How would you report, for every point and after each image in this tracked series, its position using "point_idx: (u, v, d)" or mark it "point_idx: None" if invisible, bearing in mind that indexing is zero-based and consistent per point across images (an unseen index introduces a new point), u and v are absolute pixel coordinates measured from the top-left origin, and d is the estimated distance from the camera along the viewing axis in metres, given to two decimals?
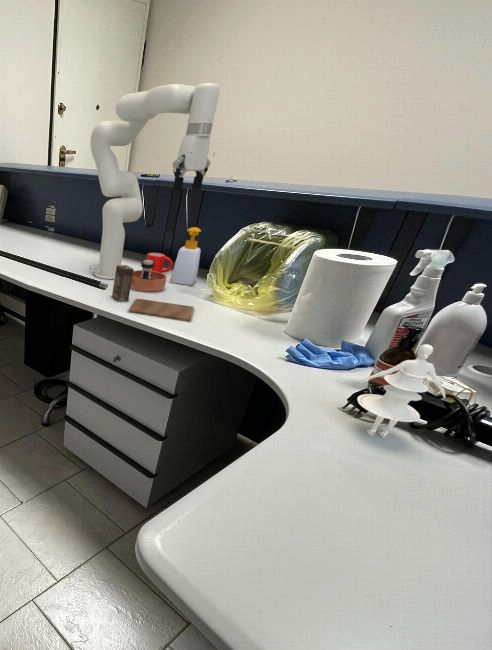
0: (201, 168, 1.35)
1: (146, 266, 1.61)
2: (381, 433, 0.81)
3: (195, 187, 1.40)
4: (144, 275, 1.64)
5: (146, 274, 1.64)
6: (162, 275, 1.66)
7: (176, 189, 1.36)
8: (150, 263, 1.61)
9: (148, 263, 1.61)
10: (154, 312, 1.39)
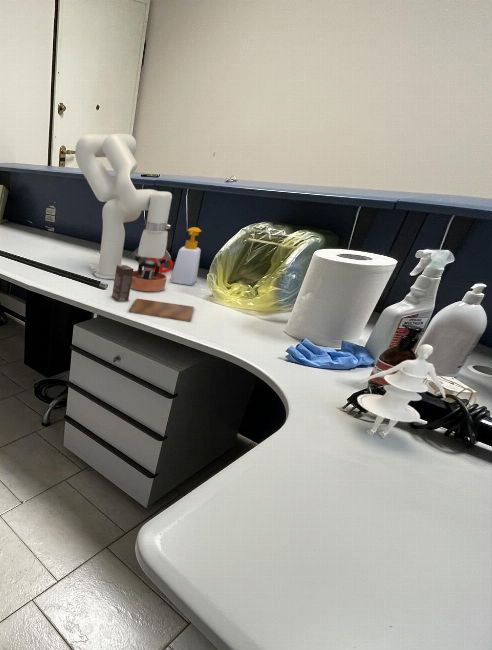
0: (157, 257, 1.58)
1: (148, 265, 1.61)
2: (381, 433, 0.81)
3: None
4: (145, 274, 1.64)
5: (147, 273, 1.64)
6: (162, 275, 1.66)
7: None
8: (152, 263, 1.61)
9: (150, 263, 1.61)
10: (154, 312, 1.39)
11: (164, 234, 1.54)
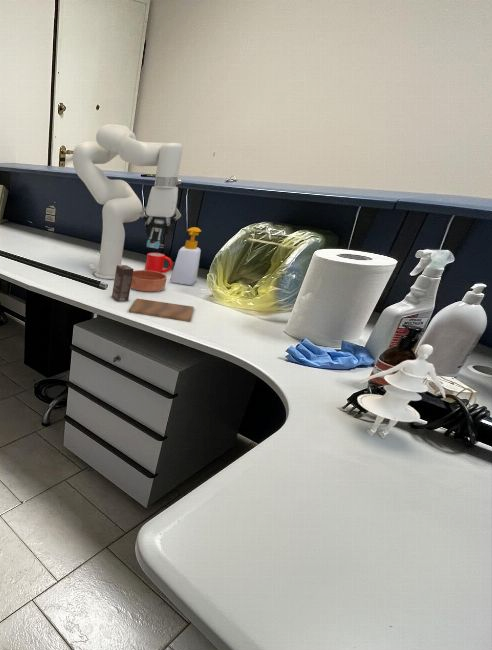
0: (166, 215, 1.48)
1: (157, 225, 1.51)
2: (381, 433, 0.81)
3: None
4: (154, 236, 1.54)
5: (156, 235, 1.54)
6: (162, 275, 1.66)
7: None
8: (161, 222, 1.51)
9: (159, 222, 1.51)
10: (154, 312, 1.39)
11: (174, 190, 1.44)
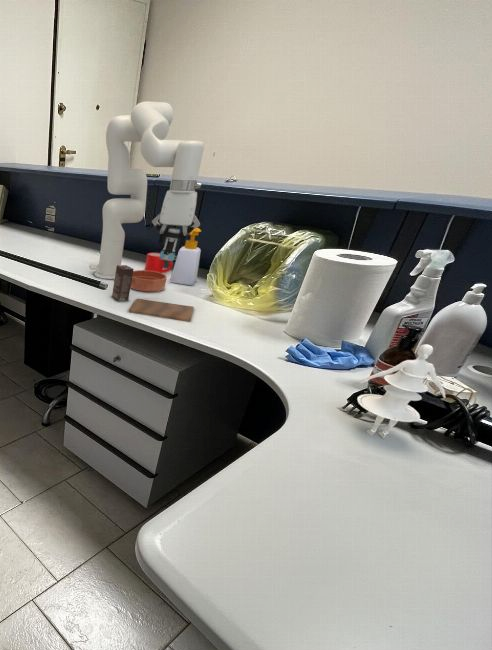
0: (183, 224, 1.30)
1: (172, 235, 1.32)
2: (381, 433, 0.81)
3: None
4: (168, 246, 1.35)
5: (170, 245, 1.35)
6: (162, 275, 1.66)
7: None
8: (177, 232, 1.32)
9: (174, 231, 1.32)
10: (154, 312, 1.39)
11: (193, 195, 1.25)
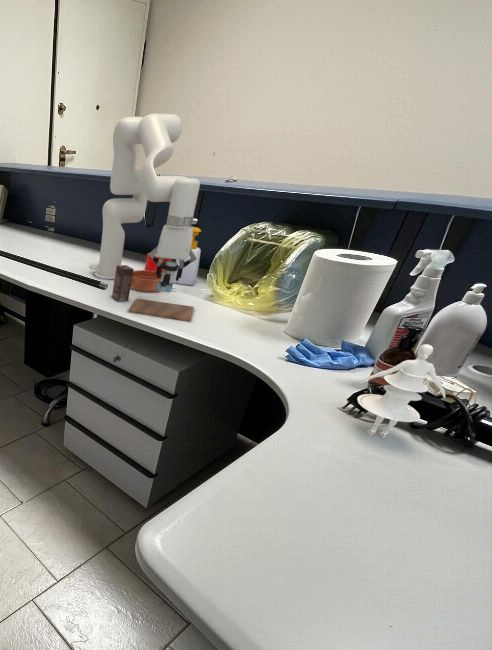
0: (180, 258, 1.31)
1: (169, 268, 1.34)
2: (381, 433, 0.81)
3: None
4: (165, 279, 1.37)
5: (167, 278, 1.37)
6: None
7: None
8: (174, 265, 1.34)
9: (171, 265, 1.34)
10: (154, 312, 1.39)
11: (189, 230, 1.27)
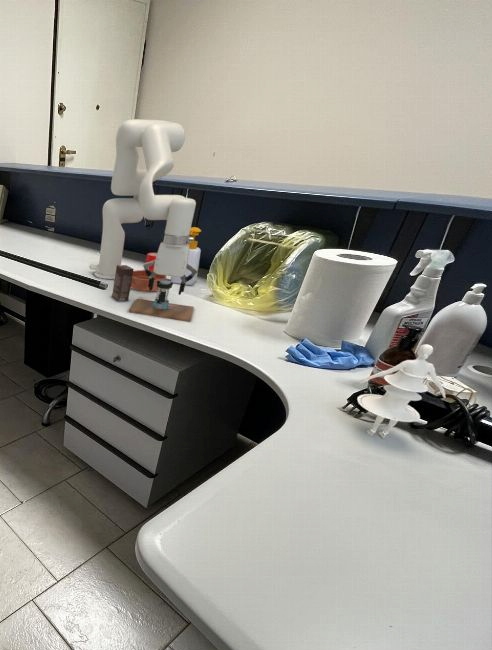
0: (176, 275, 1.34)
1: (163, 286, 1.37)
2: (381, 433, 0.81)
3: None
4: (160, 296, 1.40)
5: (163, 295, 1.40)
6: (162, 275, 1.66)
7: (150, 288, 1.42)
8: (168, 283, 1.37)
9: (165, 283, 1.37)
10: (154, 312, 1.39)
11: (186, 248, 1.29)
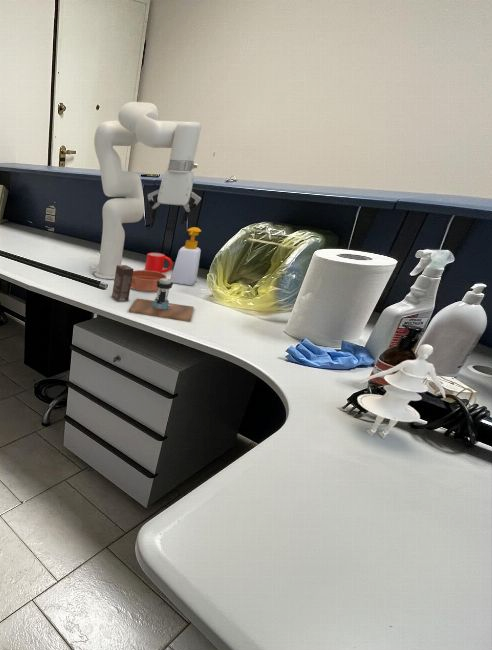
0: (180, 203, 1.35)
1: (163, 286, 1.37)
2: (381, 433, 0.81)
3: None
4: (160, 296, 1.40)
5: (163, 295, 1.40)
6: (162, 275, 1.66)
7: None
8: (168, 283, 1.37)
9: (165, 283, 1.37)
10: (154, 312, 1.39)
11: (190, 174, 1.30)
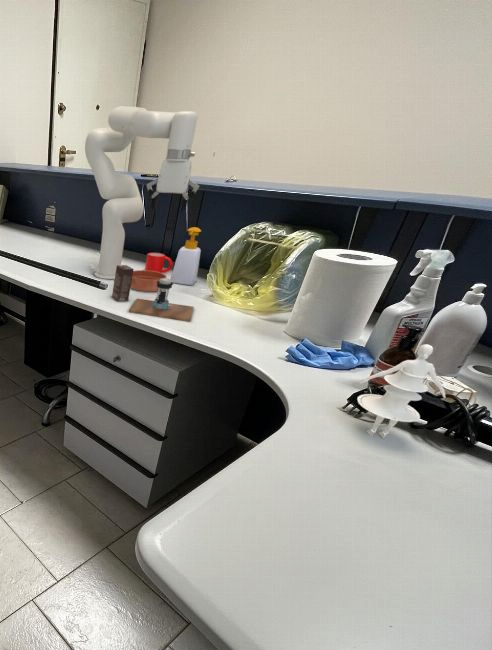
0: (178, 191, 1.38)
1: (163, 286, 1.37)
2: (381, 433, 0.81)
3: None
4: (160, 296, 1.40)
5: (163, 295, 1.40)
6: (162, 275, 1.66)
7: None
8: (168, 283, 1.37)
9: (165, 283, 1.37)
10: (154, 312, 1.39)
11: (188, 163, 1.34)
